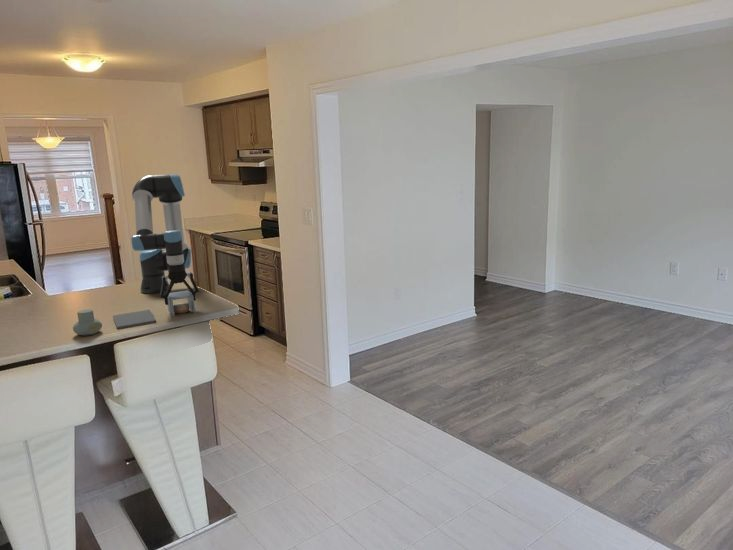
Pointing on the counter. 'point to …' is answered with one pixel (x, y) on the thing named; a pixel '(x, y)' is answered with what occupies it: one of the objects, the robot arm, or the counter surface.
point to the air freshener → (87, 323)
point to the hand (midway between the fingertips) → (181, 309)
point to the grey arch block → (179, 296)
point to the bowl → (181, 307)
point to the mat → (133, 319)
